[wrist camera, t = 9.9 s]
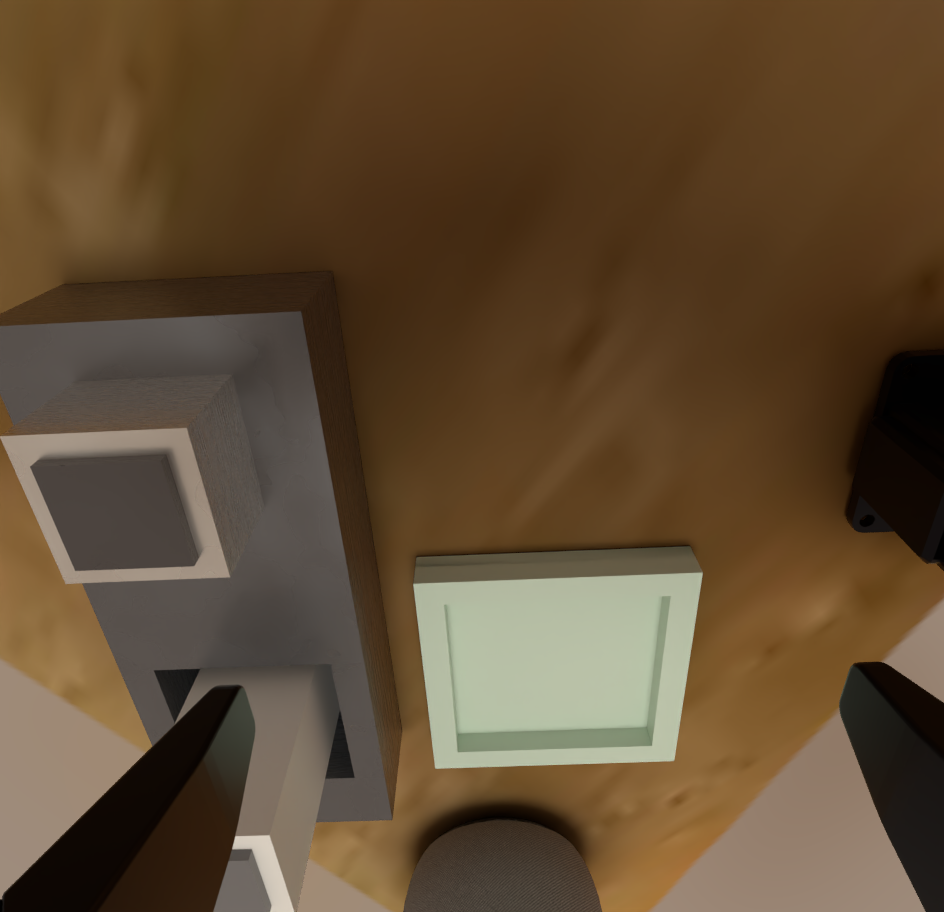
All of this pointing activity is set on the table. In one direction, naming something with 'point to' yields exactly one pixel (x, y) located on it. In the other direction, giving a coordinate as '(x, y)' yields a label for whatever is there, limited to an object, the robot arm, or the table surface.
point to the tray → (556, 654)
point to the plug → (276, 780)
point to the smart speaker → (501, 871)
